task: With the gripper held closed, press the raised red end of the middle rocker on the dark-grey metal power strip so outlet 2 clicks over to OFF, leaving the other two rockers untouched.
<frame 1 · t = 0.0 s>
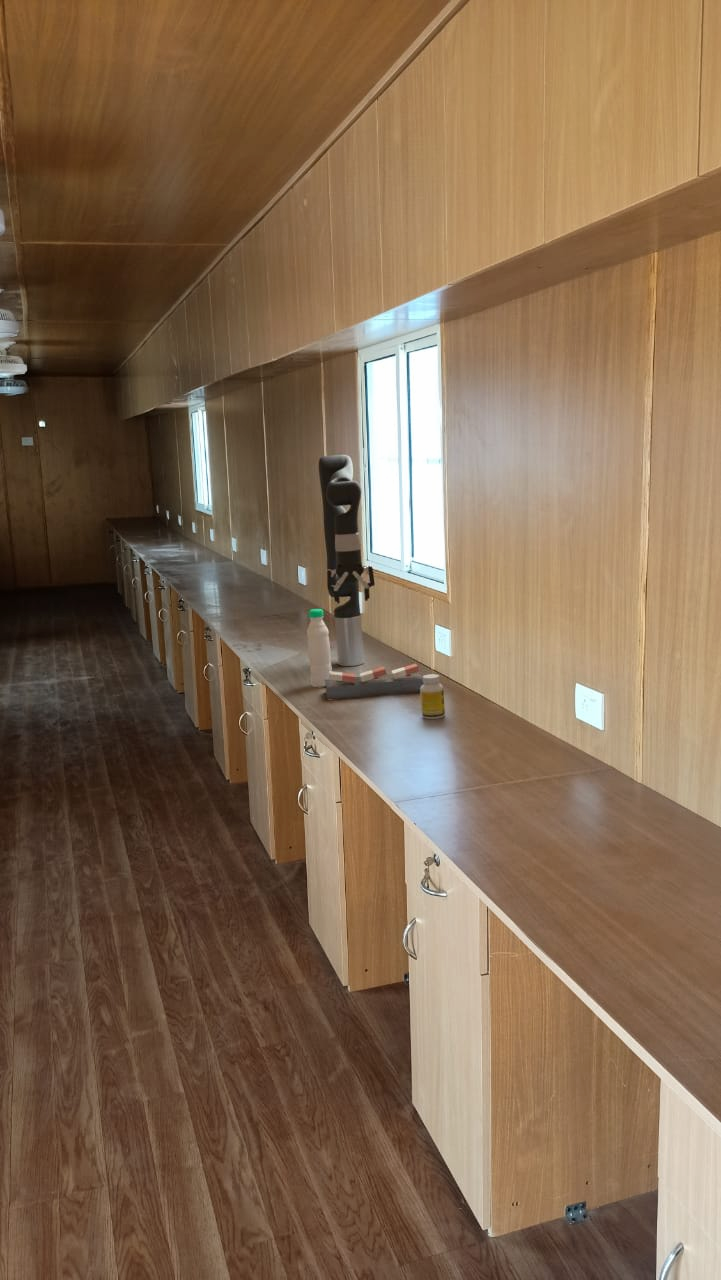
hand: (352, 601, 299), 29 cm above the table, fingers open, 8 cm apart
rocker 3: (405, 671, 305), point 6 cm above the table, hinge at 12.0°
pill bottle: (433, 717, 275), on the table
rocker 2: (373, 674, 304), point 6 cm above the table, hinge at 12.0°
power strip: (374, 691, 307), on the table
water bottle: (322, 685, 321), on the table
rocker 1: (341, 676, 304), point 6 cm above the table, hinge at -12.0°
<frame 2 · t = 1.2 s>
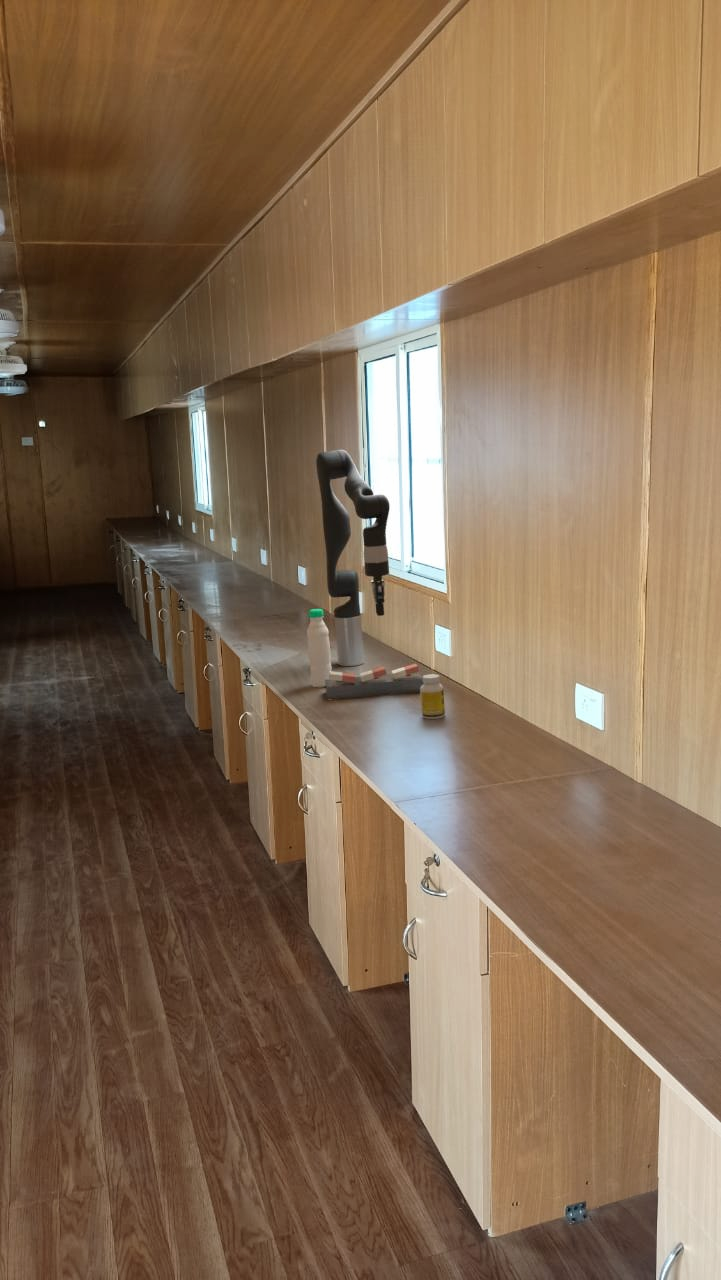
hand: (380, 614, 309), 23 cm above the table, fingers open, 3 cm apart
nothing on the table moved.
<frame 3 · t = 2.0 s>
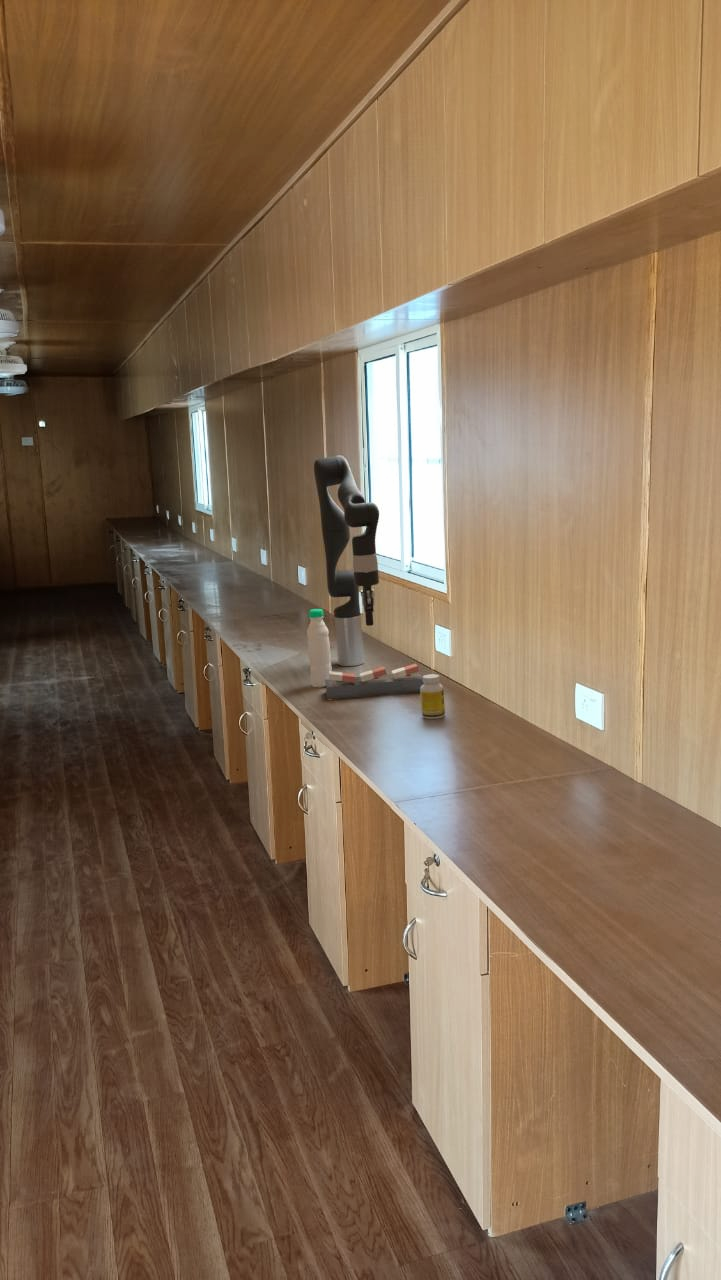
hand: (369, 625, 303), 21 cm above the table, fingers closed
nothing on the table moved.
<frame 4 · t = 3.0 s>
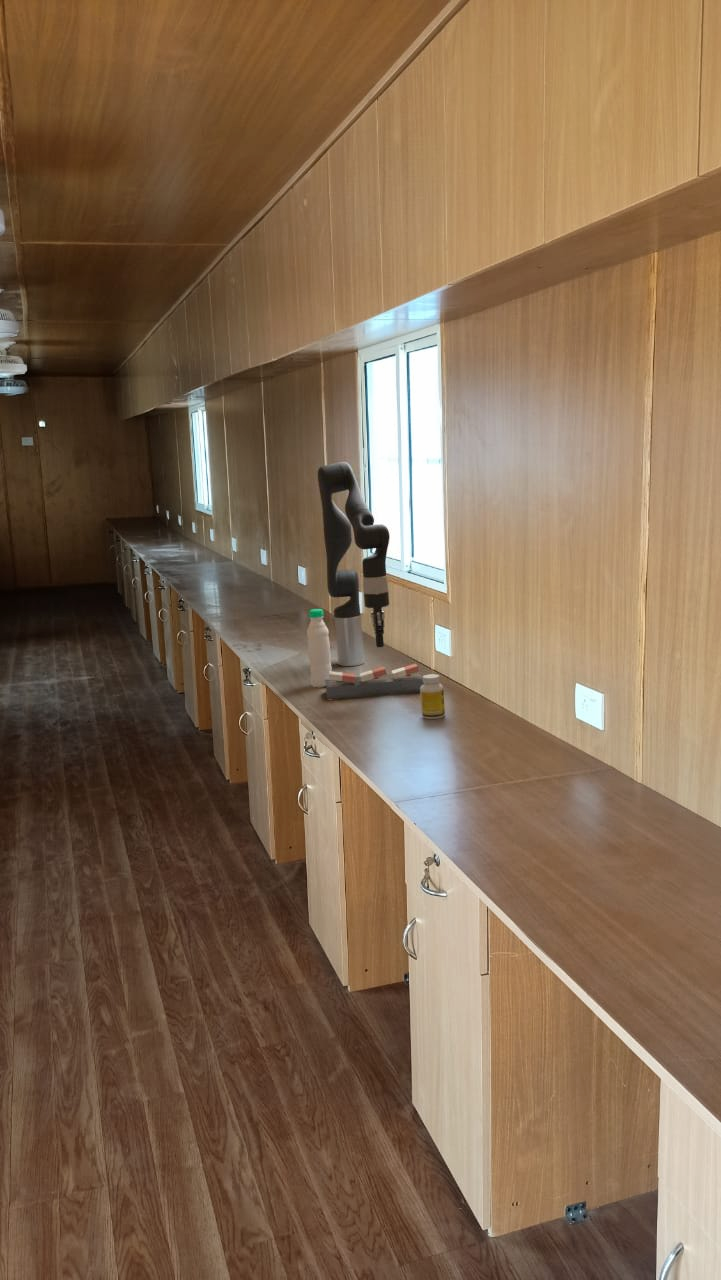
hand: (380, 646, 302), 15 cm above the table, fingers closed
nothing on the table moved.
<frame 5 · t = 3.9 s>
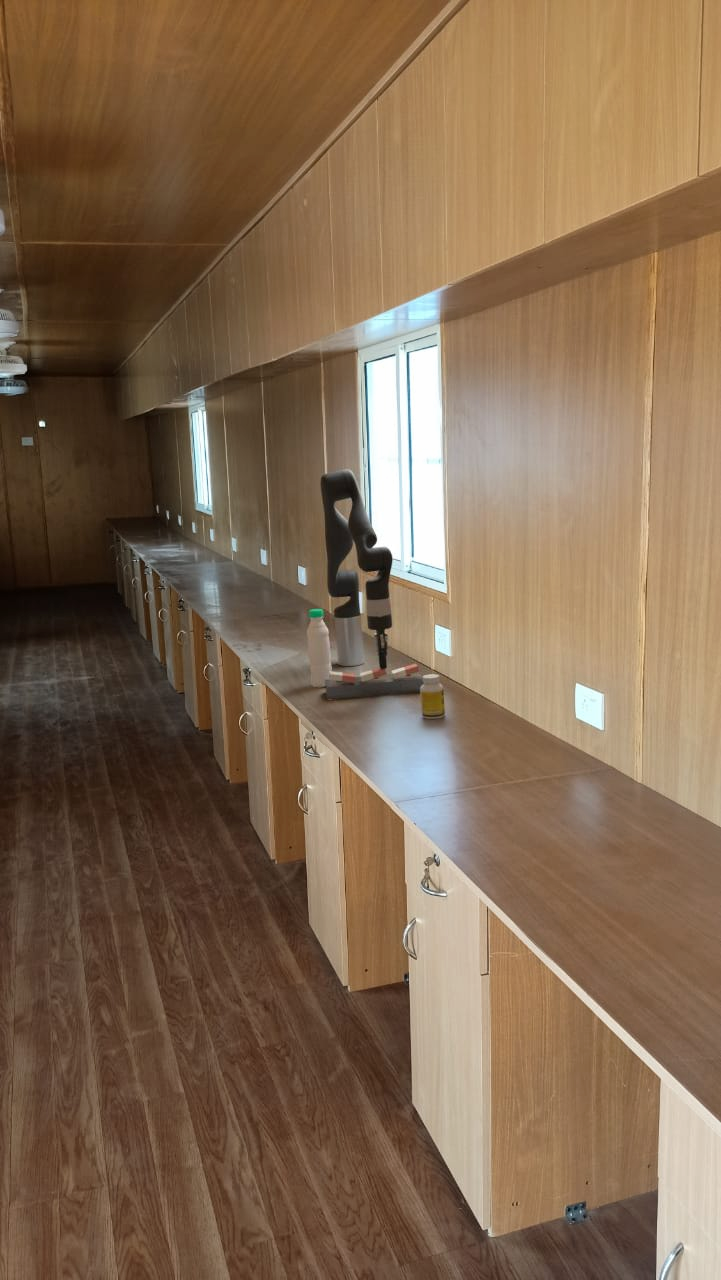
hand: (383, 668, 304), 8 cm above the table, fingers closed
rocker 2: (373, 674, 304), point 6 cm above the table, hinge at 11.4°, touching gripper
everything else where it was.
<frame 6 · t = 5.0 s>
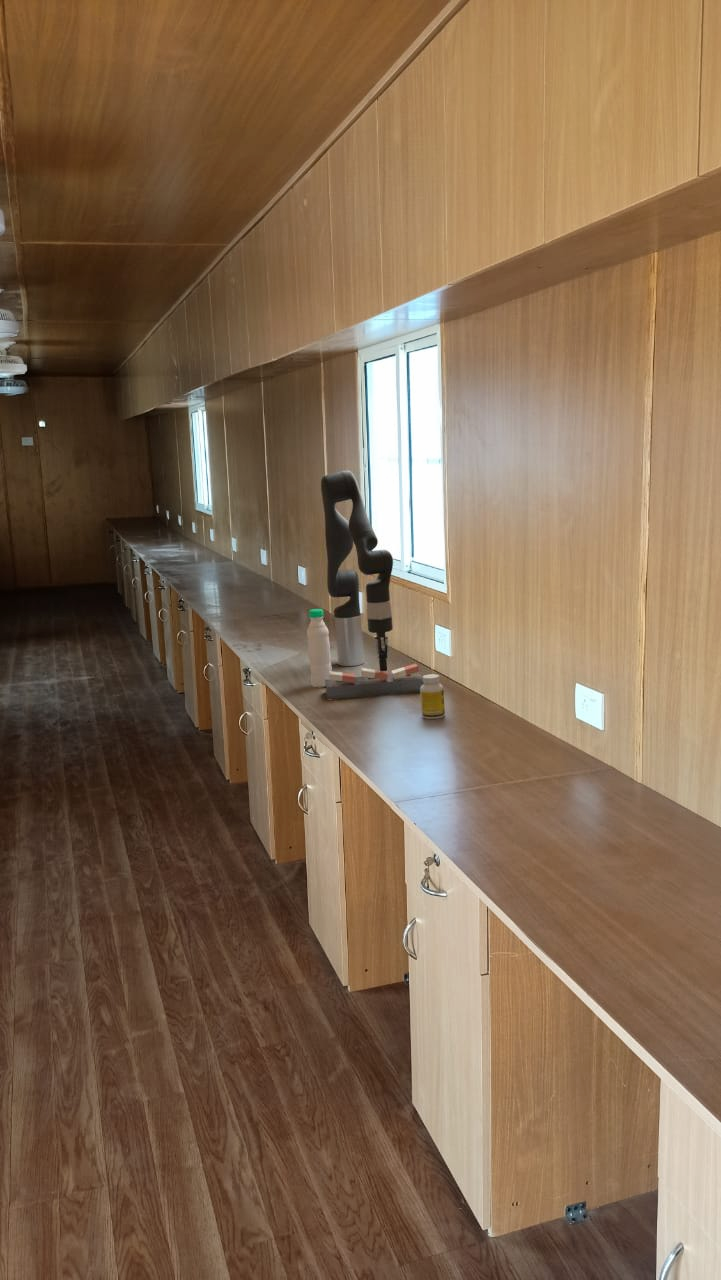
hand: (383, 670, 304), 7 cm above the table, fingers closed
rocker 2: (374, 673, 304), point 6 cm above the table, hinge at -14.0°
everything else where it was.
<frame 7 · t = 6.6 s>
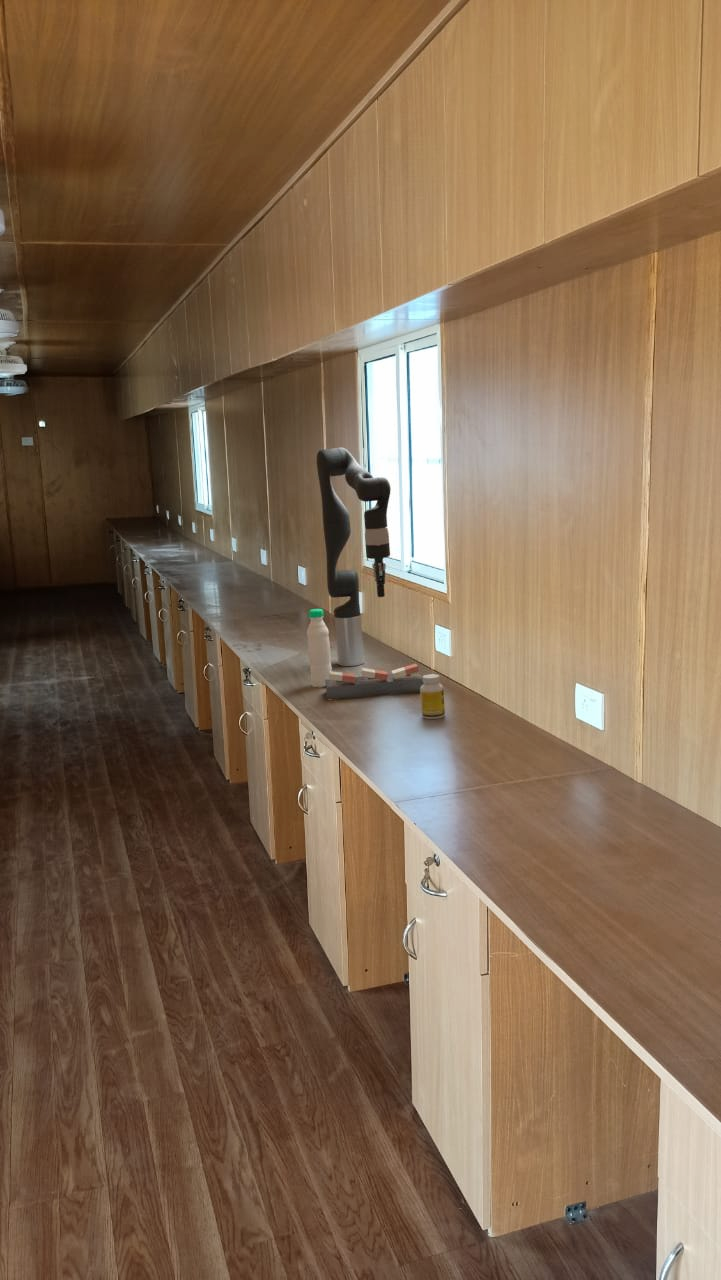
hand: (381, 596, 312), 28 cm above the table, fingers closed
nothing on the table moved.
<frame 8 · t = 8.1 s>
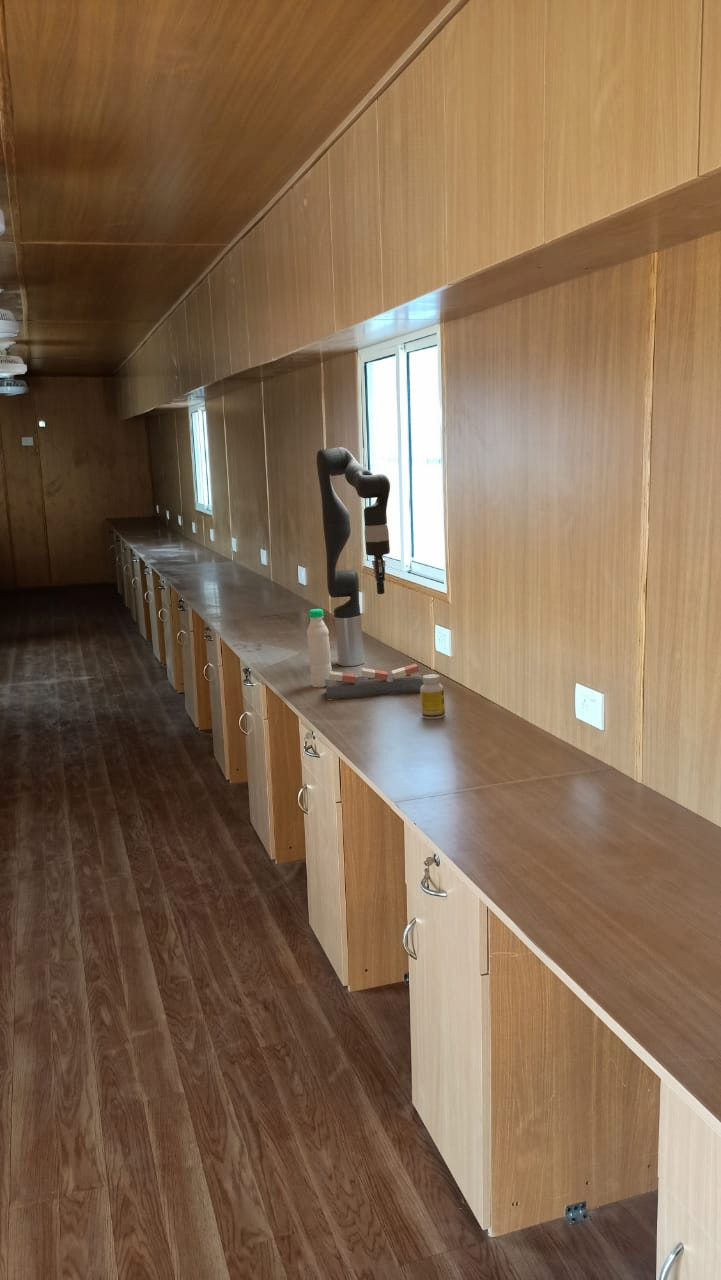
hand: (380, 593, 312), 29 cm above the table, fingers closed
nothing on the table moved.
at the end: rocker 2 at -14° (first picture: +12°); rocker 3 at +12° (first picture: +12°); rocker 1 at -12° (first picture: -12°) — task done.
